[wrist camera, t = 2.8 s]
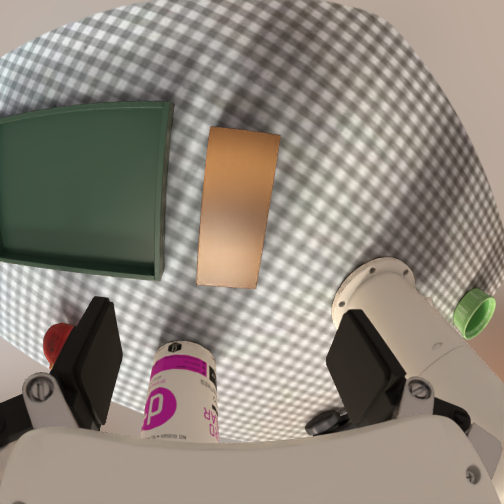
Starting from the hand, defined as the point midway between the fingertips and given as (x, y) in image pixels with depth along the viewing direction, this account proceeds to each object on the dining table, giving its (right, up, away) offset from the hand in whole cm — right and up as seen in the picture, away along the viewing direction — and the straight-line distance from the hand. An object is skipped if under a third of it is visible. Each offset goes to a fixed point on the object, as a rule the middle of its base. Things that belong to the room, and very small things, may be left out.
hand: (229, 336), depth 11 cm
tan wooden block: (-1, +9, +16) cm, 18 cm away
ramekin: (+40, -7, +29) cm, 50 cm away
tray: (-19, +10, +13) cm, 25 cm away
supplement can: (-8, -11, +24) cm, 28 cm away
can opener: (+19, -27, +35) cm, 48 cm away
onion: (-23, -7, +21) cm, 32 cm away
